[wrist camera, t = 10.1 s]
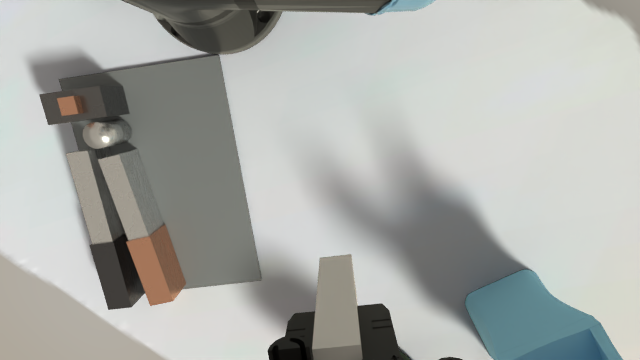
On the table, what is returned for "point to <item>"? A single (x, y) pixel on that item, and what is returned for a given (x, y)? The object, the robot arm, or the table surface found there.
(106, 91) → the tongs fixed
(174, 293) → the tongs arm
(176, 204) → the mat
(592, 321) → the vase
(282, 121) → the table surface
